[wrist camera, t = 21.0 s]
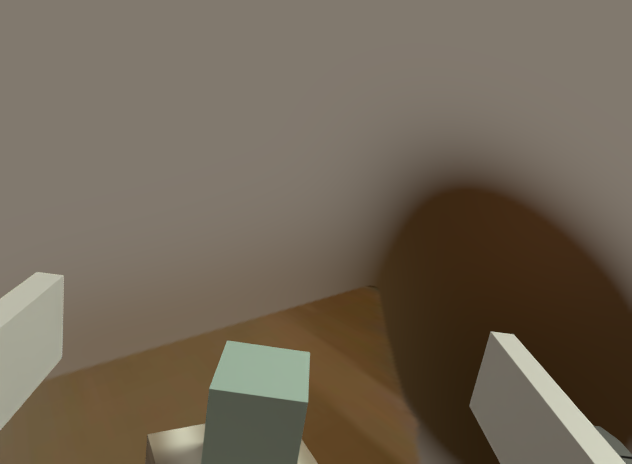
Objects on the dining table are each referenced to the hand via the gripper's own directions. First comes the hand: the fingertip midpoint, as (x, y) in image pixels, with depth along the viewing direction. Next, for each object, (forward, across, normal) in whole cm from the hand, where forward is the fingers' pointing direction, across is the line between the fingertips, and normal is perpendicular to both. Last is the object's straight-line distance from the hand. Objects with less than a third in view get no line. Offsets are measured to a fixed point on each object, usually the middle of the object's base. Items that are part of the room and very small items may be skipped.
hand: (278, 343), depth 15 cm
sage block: (+20, 0, -24) cm, 31 cm away
